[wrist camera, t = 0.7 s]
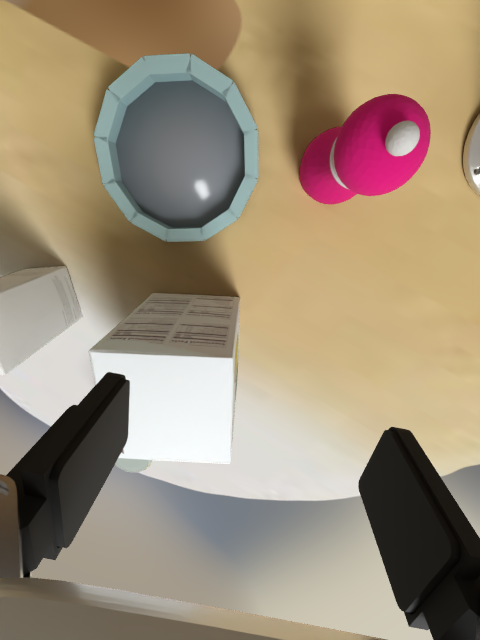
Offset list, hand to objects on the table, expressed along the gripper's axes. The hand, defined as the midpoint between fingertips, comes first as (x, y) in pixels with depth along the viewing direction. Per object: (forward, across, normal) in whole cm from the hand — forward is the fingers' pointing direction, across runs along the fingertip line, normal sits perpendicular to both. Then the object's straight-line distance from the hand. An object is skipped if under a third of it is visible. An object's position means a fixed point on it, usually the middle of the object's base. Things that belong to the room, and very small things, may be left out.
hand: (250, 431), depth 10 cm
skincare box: (+30, +28, +10) cm, 43 cm away
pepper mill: (+32, -6, -12) cm, 34 cm away
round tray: (+31, +11, -10) cm, 34 cm away
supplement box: (+31, +7, +13) cm, 34 cm away
